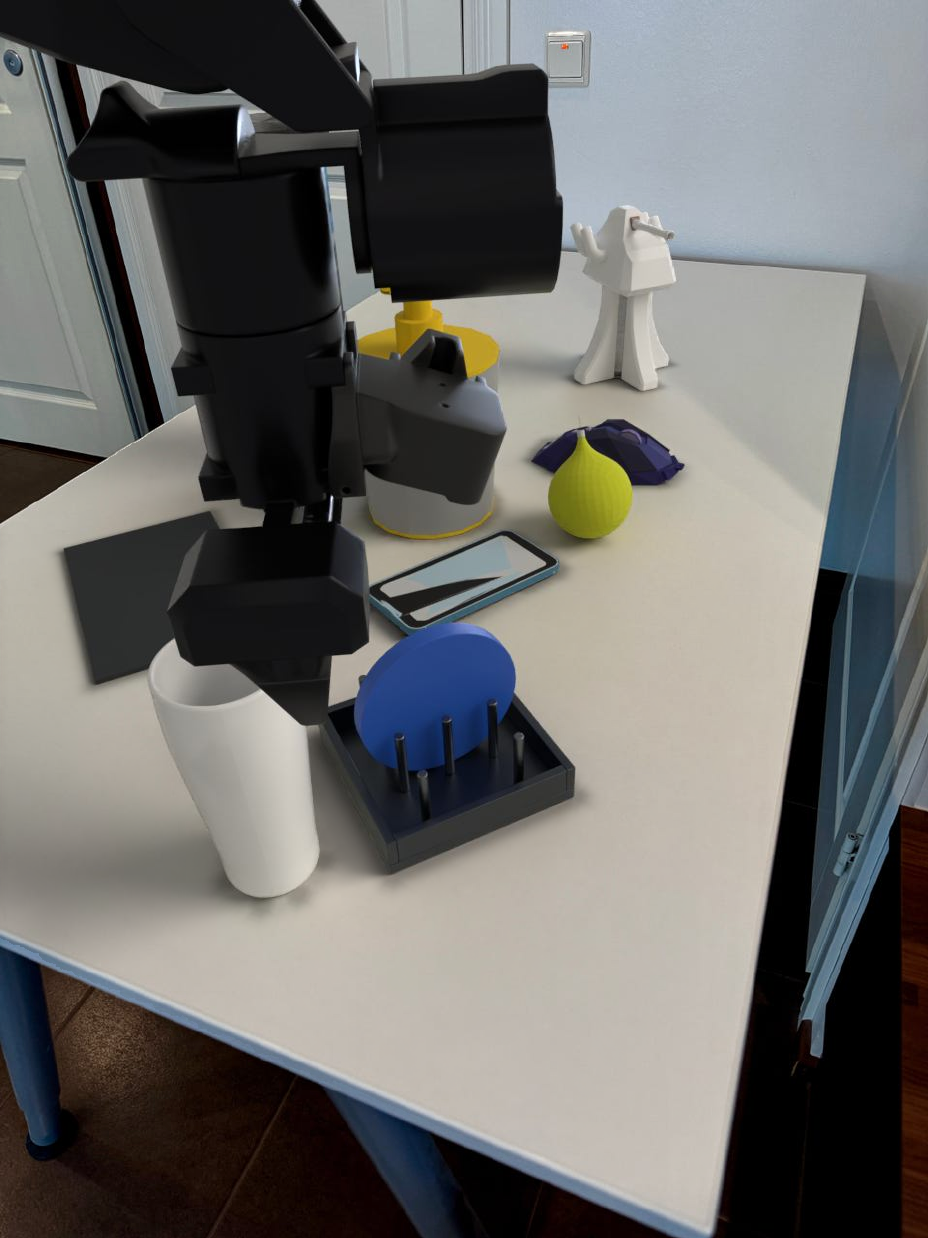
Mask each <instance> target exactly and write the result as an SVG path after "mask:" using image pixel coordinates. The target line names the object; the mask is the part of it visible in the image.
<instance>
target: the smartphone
mask: <svg viewBox="0 0 928 1238" xmlns="http://www.w3.org/2000/svg"><path fill="white" fill-rule="evenodd" d="M559 569H560V559H558V558H557V557H556V556H554V555H552V554H551V553H550V552H548V551H546V550H545V549H543V548H541V547H540V546H538V545H537V544H535V543H534V542H532V541H530V540H529V539H527V538H526V537H524V536H523V535H521V534H520V533H518V532H516V531H514V530H511V529H501V530H498V531H495V532H493V533H491V534H488V535H486V536H483V537H481V538H479V539H476V540H473V541H472V542H469V543H466V544H464V545H462V546H460V547H456V548H455V549H453V550H450V551H448V552H445V553H443V554H441V555H439V556H438V555H437V556H436V557H433V558H431V559H429V560H426V561H424V562H422V563H419V564H417V565H414V566H412V567H409V568H407V569H405V570H403V571H400V572H398V573H395V574H393V575H391V576H388V577H386V578H383V579H381V580H379V581H377V582H374V583H372V584H369V592H370V605H372V606H373V607H374V608H375V609H377V610H378V611H379V612H380V613H382V614H383V615H384V616H385V617H386V618H387V619H388V620H390V621H391V622H392V623H393V624H394V625H396V626H397V627H398V628H399V629H400V630H402V632H404V633H405V634H406V635H407V636H409V635H411V634H413V633H415V632H417V631H420V630H422V629H425V628H428V627H431V626H435V625H438V624H445V623H454V622H455V621H456V620H460V619H461V618H463V617H466V616H467V615H470V614H472V613H474V612H476V611H479V610H480V609H482V608H485V607H487V606H489V605H491V604H493V603H495V602H497V601H500V600H502V599H504V598H506V597H509V596H510V595H512V594H515V593H517V592H518V591H521V590H523V589H525V588H528V587H529V586H532V585H534V584H536V583H538V582H540V581H542V580H544V579H546V578H549V577H551V576H553V575H555V574H556V573H558V572H559Z"/></svg>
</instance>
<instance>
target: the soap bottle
mask: <svg viewBox="0 0 928 1238" xmlns="http://www.w3.org/2000/svg"><path fill="white" fill-rule="evenodd" d="M379 291H380V293H381V294H382V295H385V296H391V292H390V288H379ZM402 306H403V310H400V311H398V312H397V313H395V314H394V327H389V328H386V329H383V330H379V331H376V332H372V333H369V334H366V335H363V336H362V337H360V338H358V339H357V342H358V349H359V353H362V354H366V355H371V356H375V357H380V358H384V359H389V358H390V354H391V352H395V353H398V354H400V355H401V357H402V356H403V354H404V353H405V352H406V351H407V350H408V349H409V348H410V347H411V346H412V345H413V344H414V343H415V341H416V340H417V339H418V338H419V337H420V336H421V335H422V334H423V333H424V332H425V331H426V330H427V329H434V330H437V331H441V332H444V333H448V334H451V335H454V336H458V337H459V338H460V339H461V343H462V348H463V353H464V359H465V365H466V371H467V377H468V379H470V380H473V381H475V378H476V376H480V377H484V378H485V380H486V384H487V386H488V387H489V388H491V389H492V390H494V391H495V392H496V393H497V395H498V394H499V376H500V375H499V374H500V373H499V372H500V351H501V350H500V345H499V344H498V343H497V342H496V341H495V339H493V337H492V336H491V335H489V334H487V333H484V332H481V331H479V330H477V329H474V328H471V327H464V326H458V325H452V324H444V323H443V322H444V321H443V313H442V312H441V311H440V310H438V309H436V308H433V300H431V301H416V302H402ZM498 396H499V395H498ZM495 464H496V462H495V463H494V466H493V468H492V471H491V474H490V476H489V479H488V482H487V485H486V487H485V490H484V493H483V495H482V498H481V501H480V502H479V503H477V504H473V505H462V504H457V503H453V502H449V501H448V500H447V499H446V497H445V496H443V495H440V494H436V493H432V492H427V491H423V490H419V489H415V488H411V487H407V486H403V485H399V484H395V483H391V482H387V481H384V480H381V479H379V478H376V477H375V476H373V475H371V474H370V473H369V472H368V471H367V470H366V469H365V474H366V483H367V493H366V499H367V504H368V509H369V513H370V516H371V518H372V520H373V523H374V524H375V525H377V526H378V527H380V528H381V529H383V530H384V531H386V532H387V533H388V534H393V535H396V536H400V537H404V538H408V539H418V540H419V539H421V540H422V539H423V540H424V539H425V540H438V539H442V538H449V537H453V536H454V537H455V536H459V535H462V534H464V533H466V532H469V531H471V530H473V529H475V528H477V527H479V526H481V525H482V524H484V522H485V521H486V520H487V519H488V518H489V516H491V515H492V512H493V506H494V492H495V489H494V488H495V470H496V469H495V468H496V467H495V466H496V465H495Z"/></svg>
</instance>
